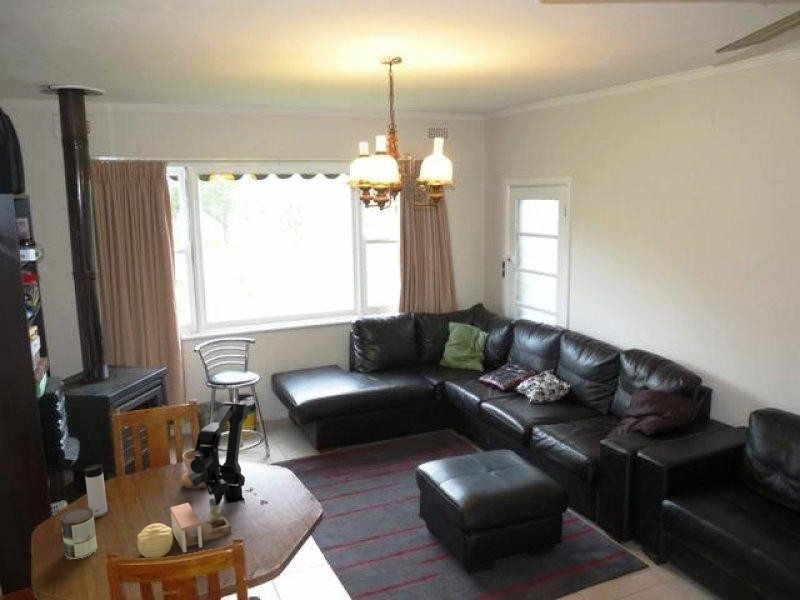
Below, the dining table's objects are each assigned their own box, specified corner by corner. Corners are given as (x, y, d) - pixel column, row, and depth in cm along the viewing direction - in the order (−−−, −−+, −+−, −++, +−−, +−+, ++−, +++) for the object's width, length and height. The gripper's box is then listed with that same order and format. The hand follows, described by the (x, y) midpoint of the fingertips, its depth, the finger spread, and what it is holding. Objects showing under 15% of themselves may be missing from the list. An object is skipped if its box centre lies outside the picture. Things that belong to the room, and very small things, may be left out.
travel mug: (101, 518, 247) (95, 470, 243) (86, 517, 248) (80, 468, 244) (111, 510, 253) (106, 463, 249) (96, 508, 254) (91, 461, 250)
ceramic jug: (218, 490, 268) (216, 458, 265) (181, 496, 263) (179, 463, 261) (216, 473, 285) (214, 442, 282) (182, 477, 280) (179, 447, 278)
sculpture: (139, 566, 216) (136, 537, 214) (138, 548, 227) (135, 520, 224) (175, 558, 220) (172, 529, 218) (172, 540, 231) (170, 513, 229)
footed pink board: (190, 526, 240) (188, 502, 239) (202, 547, 226) (200, 522, 225) (172, 531, 237) (170, 507, 235) (184, 553, 223) (181, 528, 221)
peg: (218, 515, 247) (217, 496, 246) (221, 520, 244) (220, 500, 243) (209, 518, 246) (208, 499, 244) (212, 522, 243) (210, 503, 241)
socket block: (224, 523, 242) (224, 516, 241) (231, 533, 235) (231, 525, 235) (180, 536, 233) (179, 529, 233) (185, 547, 227) (185, 539, 226)
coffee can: (59, 561, 220) (55, 523, 217) (72, 544, 230) (67, 508, 227) (90, 559, 220) (86, 521, 218) (101, 542, 231) (97, 506, 228)
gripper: (183, 457, 244) (186, 495, 247) (196, 476, 229) (199, 516, 232) (212, 450, 250) (215, 487, 253) (227, 468, 234) (230, 507, 238)
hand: (214, 499), depth 244 cm, fingers open, 9 cm apart
